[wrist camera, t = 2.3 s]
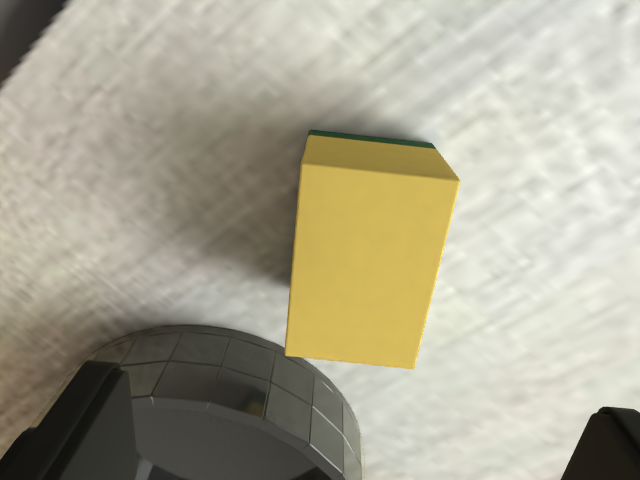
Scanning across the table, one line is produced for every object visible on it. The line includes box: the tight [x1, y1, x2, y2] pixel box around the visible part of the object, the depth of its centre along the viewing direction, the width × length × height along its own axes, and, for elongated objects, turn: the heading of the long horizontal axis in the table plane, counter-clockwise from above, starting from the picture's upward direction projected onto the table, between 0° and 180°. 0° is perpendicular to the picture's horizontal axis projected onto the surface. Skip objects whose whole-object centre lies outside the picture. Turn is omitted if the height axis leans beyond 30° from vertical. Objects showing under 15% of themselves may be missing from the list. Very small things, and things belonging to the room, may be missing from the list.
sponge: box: [284, 130, 460, 369], centre depth 16 cm, size 7×5×4 cm, turn 174°
